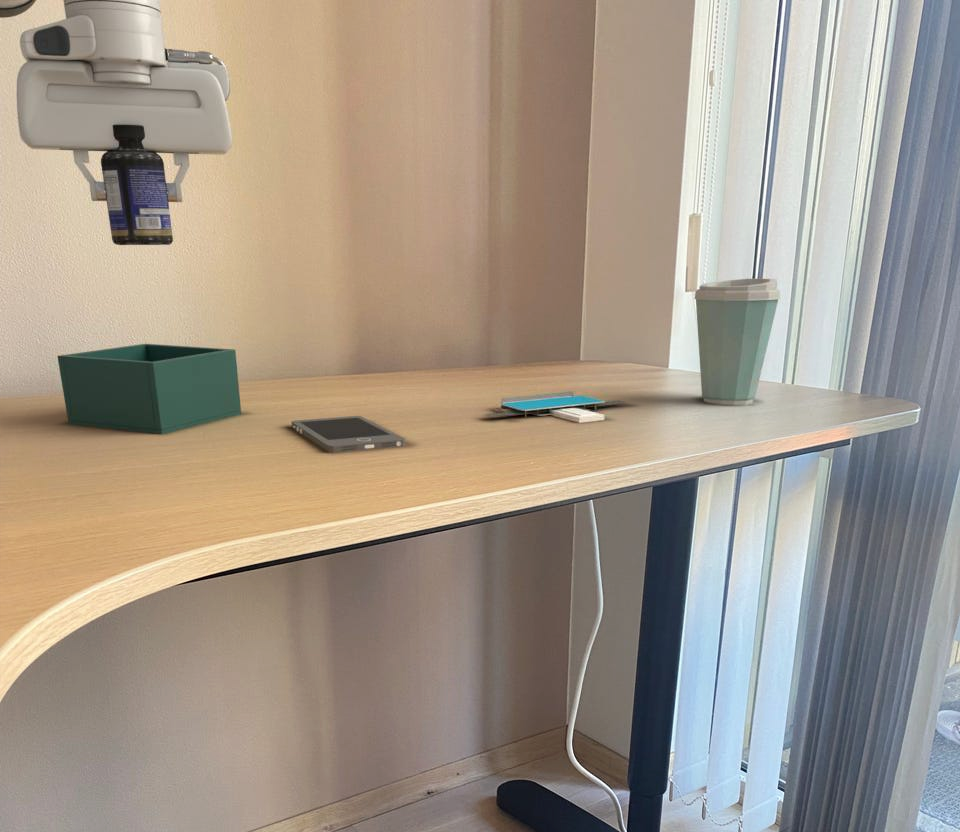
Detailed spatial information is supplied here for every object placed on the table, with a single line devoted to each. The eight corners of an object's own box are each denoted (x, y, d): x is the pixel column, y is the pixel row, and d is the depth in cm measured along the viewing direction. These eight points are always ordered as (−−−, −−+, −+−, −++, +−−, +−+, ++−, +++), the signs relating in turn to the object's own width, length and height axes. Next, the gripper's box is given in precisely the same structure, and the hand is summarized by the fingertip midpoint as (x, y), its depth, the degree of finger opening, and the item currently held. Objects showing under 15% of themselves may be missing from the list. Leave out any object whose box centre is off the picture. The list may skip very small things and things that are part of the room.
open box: (68, 425, 108) (57, 355, 105) (153, 406, 119) (145, 343, 116) (162, 435, 103) (152, 362, 100) (241, 415, 114) (235, 349, 111)
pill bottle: (179, 244, 103) (167, 129, 99) (165, 245, 98) (150, 123, 93) (122, 244, 103) (106, 128, 99) (104, 245, 97) (86, 122, 93)
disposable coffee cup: (724, 412, 117) (737, 281, 111) (667, 399, 126) (676, 278, 120) (786, 405, 122) (802, 279, 116) (727, 393, 131) (739, 276, 125)
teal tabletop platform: (519, 431, 106) (520, 416, 105) (464, 414, 115) (464, 400, 114) (657, 414, 115) (658, 400, 115) (596, 400, 125) (597, 387, 124)
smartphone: (289, 427, 107) (288, 420, 106) (359, 421, 110) (359, 415, 110) (329, 453, 94) (328, 446, 94) (406, 446, 97) (406, 439, 97)
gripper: (223, 57, 99) (236, 203, 105) (8, 44, 93) (33, 200, 98) (230, 47, 94) (243, 202, 99) (1, 33, 87) (28, 199, 93)
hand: (137, 201), depth 99 cm, fingers closed on pill bottle, 6 cm apart
